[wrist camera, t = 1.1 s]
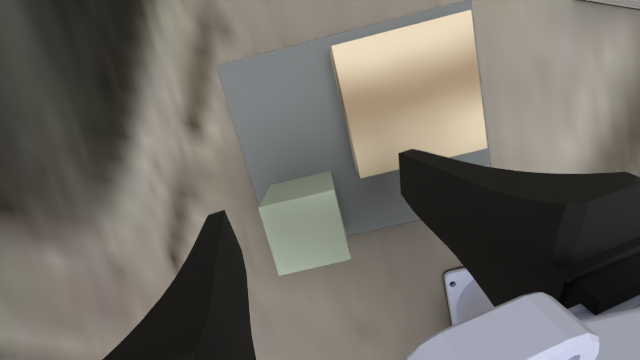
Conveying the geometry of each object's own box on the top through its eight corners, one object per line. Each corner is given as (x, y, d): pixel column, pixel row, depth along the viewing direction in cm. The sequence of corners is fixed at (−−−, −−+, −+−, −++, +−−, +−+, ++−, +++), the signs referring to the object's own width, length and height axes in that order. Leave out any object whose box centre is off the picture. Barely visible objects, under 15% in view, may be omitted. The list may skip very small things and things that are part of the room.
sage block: (344, 227, 24) (351, 259, 20) (286, 240, 25) (278, 275, 20) (330, 170, 23) (334, 189, 19) (270, 185, 24) (258, 207, 19)
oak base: (466, 141, 23) (487, 148, 20) (355, 168, 23) (360, 178, 20) (450, 21, 21) (471, 9, 18) (329, 52, 21) (331, 45, 19)
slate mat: (490, 200, 25) (495, 202, 24) (274, 249, 26) (273, 253, 25) (467, 1, 21) (471, -1, 21) (218, 66, 22) (216, 65, 22)
